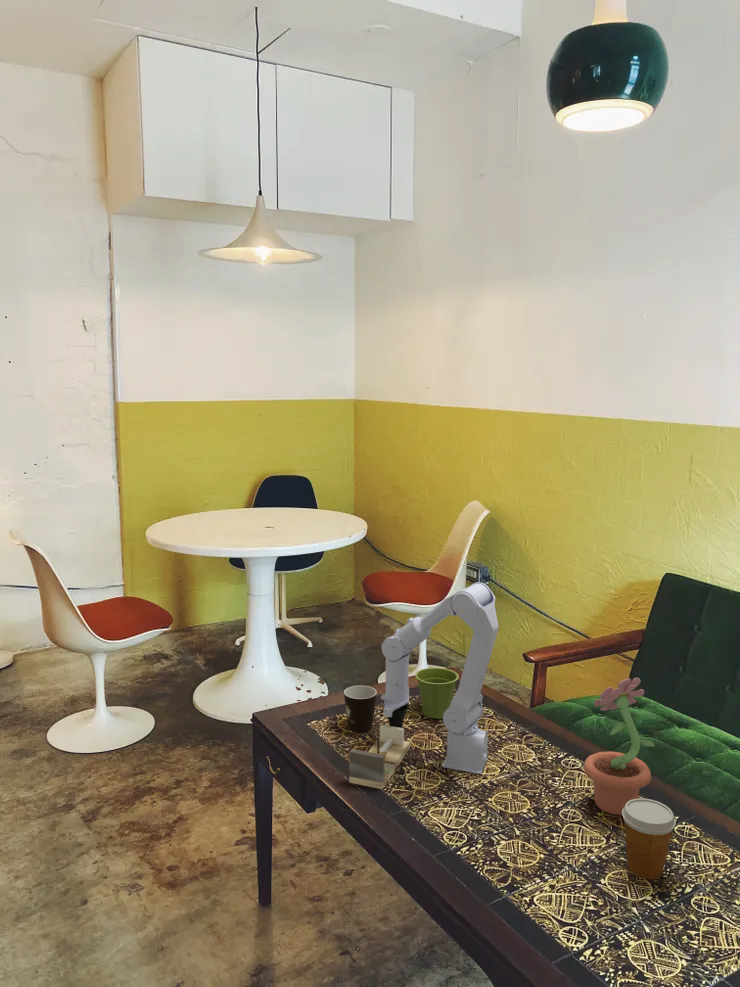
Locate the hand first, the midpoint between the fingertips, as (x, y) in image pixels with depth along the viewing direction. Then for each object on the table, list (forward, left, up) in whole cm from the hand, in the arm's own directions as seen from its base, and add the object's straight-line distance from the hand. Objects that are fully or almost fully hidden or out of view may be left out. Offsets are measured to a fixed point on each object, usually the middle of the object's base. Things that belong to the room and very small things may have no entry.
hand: (396, 732), depth 195 cm
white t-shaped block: (0, +7, -1) cm, 7 cm away
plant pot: (-5, -20, -3) cm, 21 cm away
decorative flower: (-54, +10, -3) cm, 55 cm away
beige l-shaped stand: (0, +11, -3) cm, 12 cm away
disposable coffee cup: (-60, +31, -3) cm, 68 cm away
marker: (-1, +14, -1) cm, 14 cm away
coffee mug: (+12, -6, -3) cm, 14 cm away
